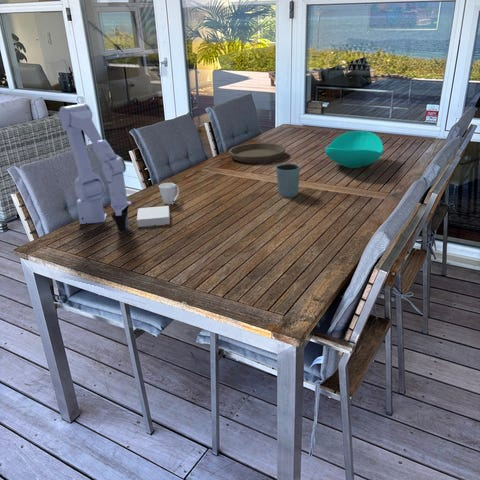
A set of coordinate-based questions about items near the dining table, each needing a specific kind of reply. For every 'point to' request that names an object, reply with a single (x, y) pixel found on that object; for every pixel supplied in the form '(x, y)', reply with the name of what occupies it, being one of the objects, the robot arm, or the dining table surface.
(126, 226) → the grey cylinder
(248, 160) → the plant saucer
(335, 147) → the table top decor
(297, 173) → the drinking glass
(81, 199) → the robot arm
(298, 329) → the dining table surface
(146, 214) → the base block
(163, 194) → the cup
